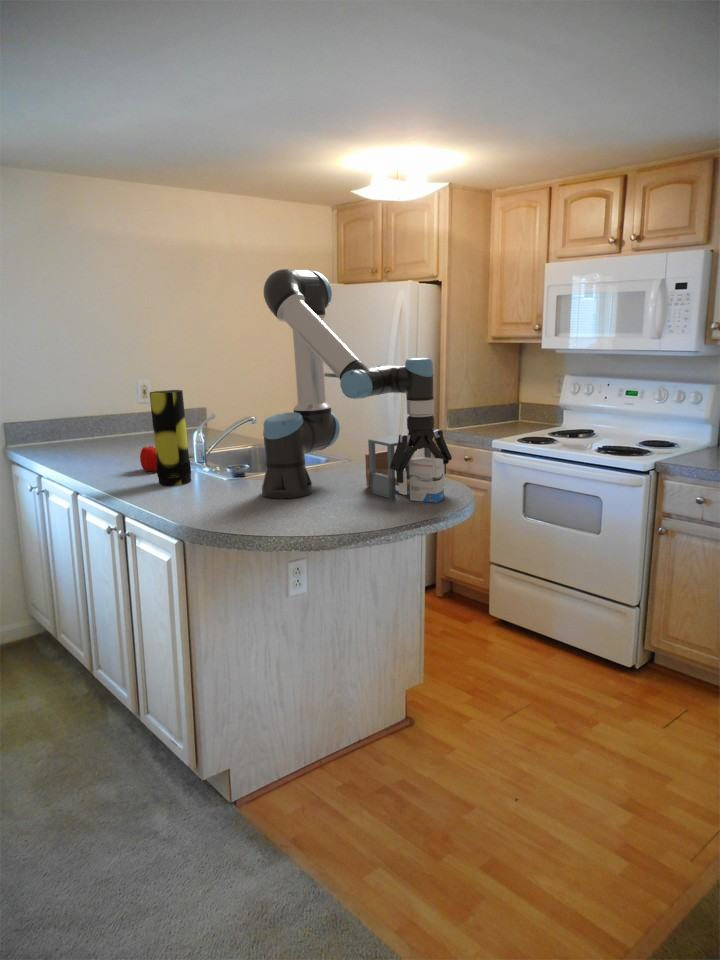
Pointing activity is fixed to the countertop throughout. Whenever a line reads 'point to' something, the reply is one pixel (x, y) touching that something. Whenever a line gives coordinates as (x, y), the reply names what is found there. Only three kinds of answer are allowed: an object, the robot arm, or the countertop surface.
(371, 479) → the grey open frame holder
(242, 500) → the countertop surface
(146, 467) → the tomato
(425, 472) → the ink box
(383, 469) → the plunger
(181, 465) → the container
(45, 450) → the countertop surface
